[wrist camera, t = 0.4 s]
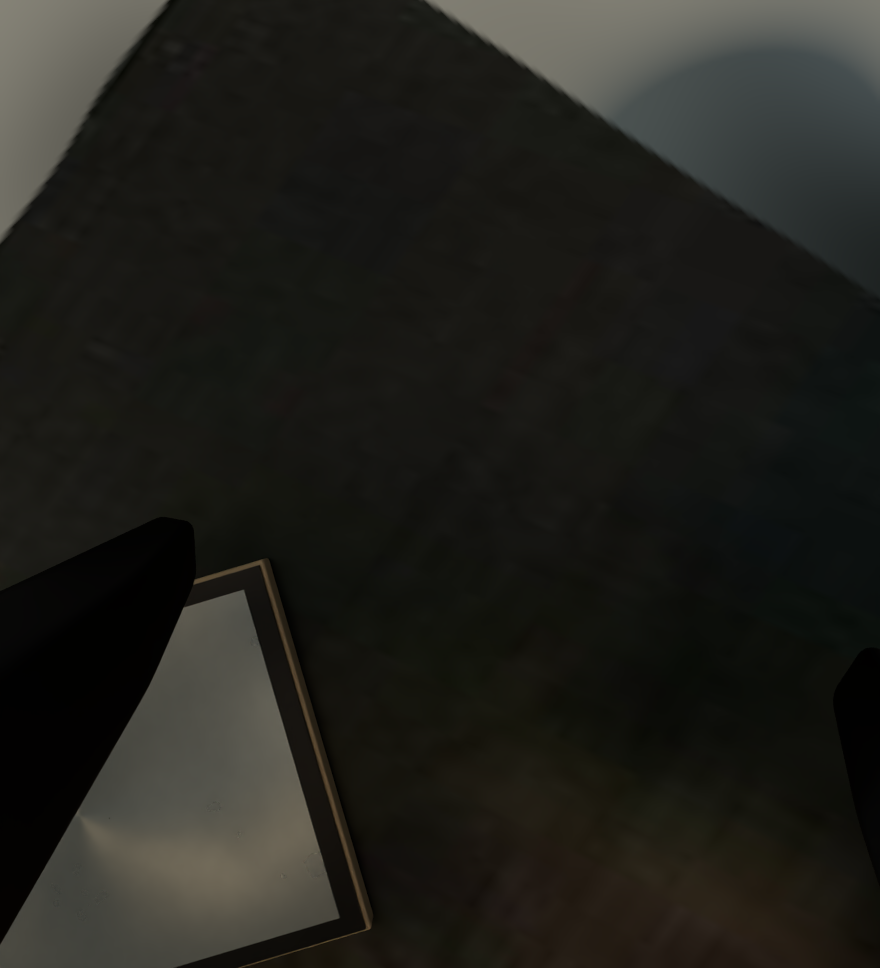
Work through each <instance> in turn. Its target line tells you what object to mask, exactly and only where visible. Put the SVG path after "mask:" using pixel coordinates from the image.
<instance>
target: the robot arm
mask: <svg viewBox="0 0 880 968" xmlns="http://www.w3.org/2000/svg"><path fill="white" fill-rule="evenodd" d="M195 575H196V560H195V541H194V530H193V527H192V525H191V524H190V523H189V522H188V521H184V520H178V519H173V518H167V517H159V518H156V519H154V520H152V521H150V522H147V523H145V524H143V525H141V526H139V527H137V528H135V529H132V530H130V531H128V532H126V533H124V534H122V535H120V536H118V537H115V538H113V539H111V540H109V541H107V542H105V543H103V544H100V545H98V546H96V547H94V548H92V549H90V550H88V551H85V552H83V553H81V554H79V555H77V556H75V557H73V558H71V559H68V560H66V561H64V562H62V563H60V564H58V565H56V566H53V567H51V568H49V569H47V570H45V571H43V572H41V573H38V574H36V575H34V576H32V577H30V578H28V579H26V580H23V581H21V582H19V583H17V584H15V585H13V586H11V587H9V588H6V589H4V590H2V591H0V945H1V943H2V941H3V939H4V938H5V936H6V934H7V932H8V931H9V929H10V927H11V925H12V924H13V922H14V920H15V919H16V917H17V915H18V913H19V912H20V910H21V908H22V906H23V905H24V903H25V901H26V899H27V898H28V896H29V894H30V893H31V891H32V889H33V887H34V886H35V884H36V882H37V880H38V879H39V877H40V875H41V873H42V872H43V870H44V868H45V867H46V865H47V863H48V861H49V860H50V858H51V856H52V854H53V853H54V851H55V849H56V848H57V846H58V844H59V842H60V841H61V839H62V837H63V835H64V834H65V832H66V830H67V828H68V827H69V825H70V823H71V822H72V820H73V818H74V816H75V815H76V813H77V811H78V809H79V808H80V806H81V804H82V802H83V801H84V799H85V797H86V796H87V794H88V792H89V790H90V789H91V787H92V785H93V783H94V782H95V780H96V778H97V776H98V775H99V773H100V771H101V770H102V768H103V766H104V764H105V763H106V761H107V759H108V757H109V756H110V754H111V752H112V750H113V749H114V747H115V745H116V744H117V742H118V740H119V738H120V737H121V735H122V733H123V731H124V730H125V728H126V726H127V724H128V723H129V721H130V719H131V718H132V716H133V714H134V712H135V711H136V709H137V707H138V705H139V704H140V702H141V700H142V698H143V696H144V695H145V693H146V691H147V689H148V687H149V685H150V683H151V681H152V679H153V677H154V675H155V673H156V670H157V668H158V666H159V664H160V661H161V659H162V657H163V654H164V652H165V650H166V647H167V645H168V643H169V640H170V638H171V636H172V634H173V631H174V629H175V627H176V624H177V622H178V620H179V617H180V615H181V613H182V610H183V608H184V606H185V603H186V601H187V599H188V596H189V594H190V592H191V590H192V587H193V584H194V580H195ZM833 706H834V712H835V716H836V721H837V726H838V730H839V735H840V740H841V745H842V749H843V754H844V759H845V763H846V768H847V773H848V777H849V782H850V787H851V791H852V796H853V800H854V804H855V809H856V813H857V817H858V820H859V823H860V827H861V830H862V834H863V837H864V840H865V843H866V846H867V849H868V852H869V855H870V858H871V862H872V865H873V868H874V871H875V874H876V877H877V880H878V883H879V886H880V649H878V648H866V649H864V650H863V651H861V652H860V653H859V654H858V656H857V657H856V659H855V660H854V662H853V663H852V665H851V666H850V668H849V669H848V671H847V672H846V674H845V675H844V677H843V678H842V680H841V681H840V683H839V684H838V686H837V688H836V690H835V693H834V698H833Z"/></svg>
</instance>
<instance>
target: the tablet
mask: <svg viewBox="0 0 880 968" xmlns="http://www.w3.org/2000/svg"><path fill="white" fill-rule="evenodd" d="M372 920H373V912H372V908H371V905H370V902H369V898H368V895H367V891H366V888H365V885H364V881H363V878H362V874H361V871H360V868H359V864H358V861H357V857H356V854H355V851H354V847H353V844H352V840H351V837H350V834H349V830H348V827H347V823H346V820H345V817H344V813H343V810H342V806H341V803H340V800H339V796H338V793H337V789H336V786H335V782H334V779H333V776H332V772H331V769H330V765H329V762H328V759H327V755H326V752H325V748H324V745H323V742H322V738H321V735H320V731H319V728H318V725H317V721H316V718H315V714H314V711H313V708H312V704H311V701H310V697H309V694H308V691H307V687H306V684H305V680H304V677H303V674H302V670H301V667H300V663H299V660H298V657H297V653H296V650H295V646H294V643H293V640H292V636H291V633H290V629H289V626H288V623H287V619H286V616H285V612H284V609H283V605H282V602H281V599H280V595H279V592H278V588H277V585H276V582H275V578H274V575H273V571H272V568H271V565H270V561H269V559H268V558H265V559H261V560H258V561H255V562H251V563H248V564H245V565H241V566H238V567H235V568H231V569H228V570H225V571H221V572H218V573H215V574H211V575H208V576H205V577H201V578H198V579H195V580H194V584H193V587H192V590H191V592H190V594H189V596H188V599H187V601H186V603H185V606H184V608H183V610H182V613H181V615H180V617H179V620H178V622H177V624H176V627H175V629H174V631H173V634H172V636H171V638H170V640H169V643H168V645H167V647H166V650H165V652H164V654H163V657H162V659H161V661H160V664H159V666H158V668H157V670H156V673H155V675H154V677H153V679H152V681H151V683H150V685H149V687H148V689H147V691H146V693H145V695H144V696H143V698H142V700H141V702H140V704H139V705H138V707H137V709H136V711H135V712H134V714H133V716H132V718H131V719H130V721H129V723H128V724H127V726H126V728H125V730H124V731H123V733H122V735H121V737H120V738H119V740H118V742H117V744H116V745H115V747H114V749H113V750H112V752H111V754H110V756H109V757H108V759H107V761H106V763H105V764H104V766H103V768H102V770H101V771H100V773H99V775H98V776H97V778H96V780H95V782H94V783H93V785H92V787H91V789H90V790H89V792H88V794H87V796H86V797H85V799H84V801H83V802H82V804H81V806H80V808H79V809H78V811H77V813H76V815H75V816H74V818H73V820H72V822H71V823H70V825H69V827H68V828H67V830H66V832H65V834H64V835H63V837H62V839H61V841H60V842H59V844H58V846H57V848H56V849H55V851H54V853H53V854H52V856H51V858H50V860H49V861H48V863H47V865H46V867H45V868H44V870H43V872H42V873H41V875H40V877H39V879H38V880H37V882H36V884H35V886H34V887H33V889H32V891H31V893H30V894H29V896H28V898H27V899H26V901H25V903H24V905H23V906H22V908H21V910H20V912H19V913H18V915H17V917H16V919H15V920H14V922H13V924H12V925H11V927H10V929H9V931H8V932H7V934H6V936H5V938H4V939H3V941H2V943H1V945H0V968H242V967H246V966H249V965H252V964H256V963H259V962H262V961H266V960H269V959H272V958H276V957H279V956H282V955H286V954H289V953H292V952H296V951H299V950H302V949H306V948H309V947H312V946H316V945H319V944H322V943H326V942H329V941H332V940H336V939H339V938H342V937H346V936H349V935H352V934H356V933H359V932H362V931H366V930H369V929H371V926H372Z"/></svg>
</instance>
